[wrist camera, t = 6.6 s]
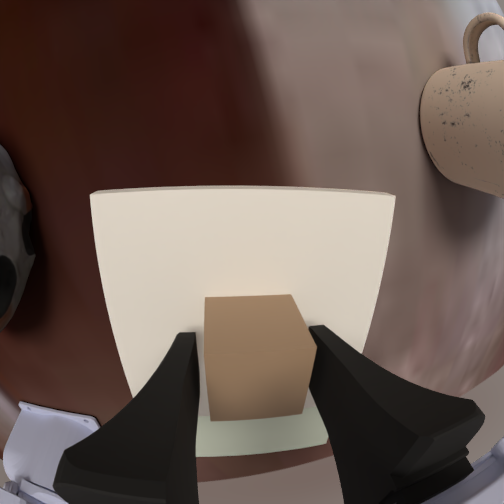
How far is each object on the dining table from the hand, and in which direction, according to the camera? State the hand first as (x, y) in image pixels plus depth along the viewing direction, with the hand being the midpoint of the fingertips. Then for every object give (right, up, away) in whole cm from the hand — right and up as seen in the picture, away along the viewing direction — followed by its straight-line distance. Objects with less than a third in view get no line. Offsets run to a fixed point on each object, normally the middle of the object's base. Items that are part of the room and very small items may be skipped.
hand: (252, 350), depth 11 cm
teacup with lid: (+14, +14, +4) cm, 20 cm away
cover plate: (0, +1, +2) cm, 2 cm away
